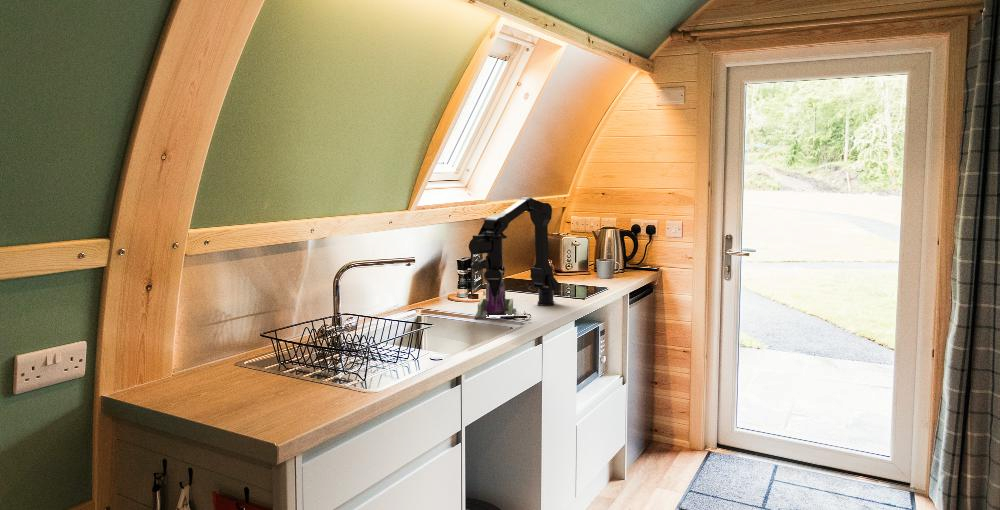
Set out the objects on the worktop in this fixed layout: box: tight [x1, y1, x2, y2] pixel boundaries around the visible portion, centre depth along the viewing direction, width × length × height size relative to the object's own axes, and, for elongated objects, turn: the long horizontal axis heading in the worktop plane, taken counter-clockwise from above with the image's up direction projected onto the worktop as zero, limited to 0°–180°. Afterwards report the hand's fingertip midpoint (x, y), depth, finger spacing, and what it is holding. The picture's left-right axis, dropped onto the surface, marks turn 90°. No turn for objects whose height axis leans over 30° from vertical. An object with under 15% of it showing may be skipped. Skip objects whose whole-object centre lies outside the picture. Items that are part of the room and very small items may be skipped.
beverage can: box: [485, 279, 506, 314], centre depth 284 cm, size 7×7×12 cm
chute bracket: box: [474, 298, 517, 320], centre depth 286 cm, size 15×14×5 cm
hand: (495, 294), depth 284 cm, fingers open, 9 cm apart
